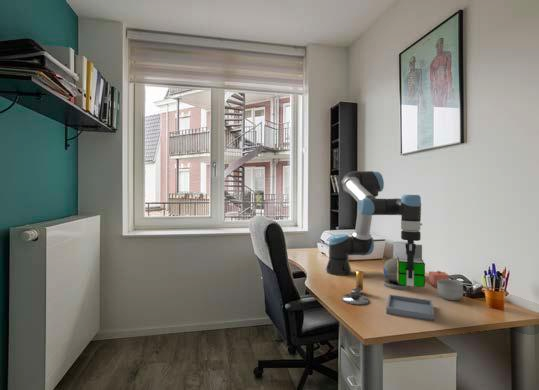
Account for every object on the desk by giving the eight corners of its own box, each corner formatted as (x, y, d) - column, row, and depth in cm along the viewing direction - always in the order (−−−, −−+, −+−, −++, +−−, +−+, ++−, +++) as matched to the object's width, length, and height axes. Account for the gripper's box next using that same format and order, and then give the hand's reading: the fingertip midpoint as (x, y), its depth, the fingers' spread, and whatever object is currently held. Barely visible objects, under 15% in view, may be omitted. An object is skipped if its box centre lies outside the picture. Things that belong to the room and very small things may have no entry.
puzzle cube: (421, 281, 133) (421, 258, 133) (424, 287, 123) (425, 263, 123) (396, 278, 136) (397, 256, 136) (398, 285, 127) (398, 261, 127)
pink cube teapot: (436, 290, 156) (436, 274, 156) (427, 283, 168) (427, 268, 168) (452, 290, 155) (452, 274, 155) (442, 283, 167) (442, 268, 167)
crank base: (344, 294, 149) (344, 292, 149) (370, 298, 144) (370, 295, 144) (339, 302, 138) (339, 299, 138) (367, 306, 133) (367, 304, 133)
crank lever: (359, 299, 138) (359, 279, 138) (350, 297, 140) (350, 278, 140) (364, 289, 152) (364, 271, 152) (355, 288, 154) (356, 270, 154)
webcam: (411, 290, 155) (412, 261, 155) (385, 288, 158) (385, 260, 158) (405, 283, 168) (406, 256, 168) (381, 281, 170) (381, 255, 170)
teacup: (454, 304, 137) (454, 286, 137) (431, 296, 146) (431, 280, 146) (471, 299, 143) (472, 282, 143) (449, 292, 153) (449, 276, 153)
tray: (389, 299, 142) (389, 294, 142) (431, 306, 134) (431, 300, 134) (386, 313, 126) (386, 307, 126) (434, 321, 118) (434, 314, 118)
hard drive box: (422, 279, 176) (422, 244, 175) (412, 280, 173) (412, 245, 173) (401, 272, 190) (402, 240, 190) (392, 273, 187) (392, 241, 187)
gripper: (421, 234, 118) (420, 291, 118) (419, 228, 138) (419, 276, 138) (400, 233, 121) (399, 288, 121) (402, 227, 141) (401, 274, 142)
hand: (410, 282), depth 130 cm, fingers closed on puzzle cube, 10 cm apart
